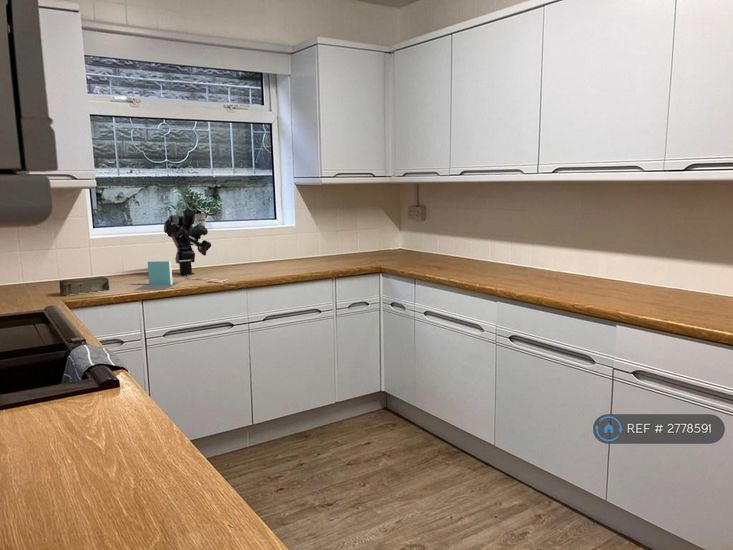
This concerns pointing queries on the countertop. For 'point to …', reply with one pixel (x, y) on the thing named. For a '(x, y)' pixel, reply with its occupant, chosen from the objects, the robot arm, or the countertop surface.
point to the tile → (160, 273)
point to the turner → (207, 279)
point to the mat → (156, 287)
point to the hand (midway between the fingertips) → (197, 251)
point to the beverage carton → (84, 285)
